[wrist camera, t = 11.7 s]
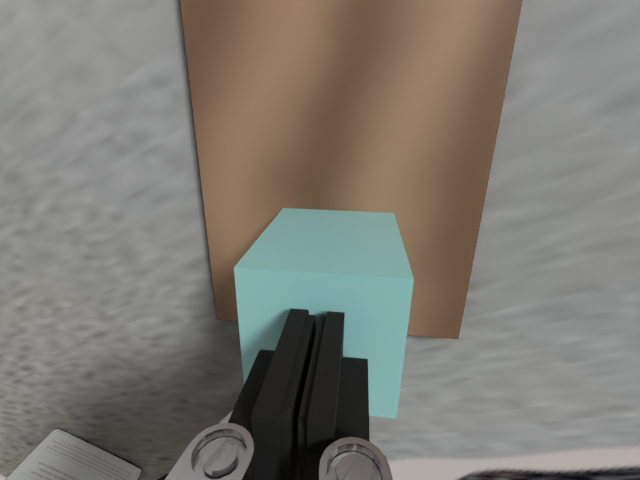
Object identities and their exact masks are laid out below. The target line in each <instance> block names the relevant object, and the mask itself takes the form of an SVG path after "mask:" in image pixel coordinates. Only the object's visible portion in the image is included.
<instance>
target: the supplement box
mask: <svg viewBox="0 0 640 480" xmlns="http://www.w3.org/2000/svg"><path fill="white" fill-rule="evenodd" d="M140 474H141V469H139V468H137V467H136V466H134V465H132V464H130V463H128V462H126V461H124V460H122V459H120V458H118V457H116V456H114V455H112V454H110V453H108V452H106V451H104V450H102V449H100V448H98V447H96V446H94V445H92V444H90V443H87V442H85V441H83V440H81V439H79V438H77V437H75V436H73V435H71V434H69V433H67V432H65V431H62V430H60V429H55V430H53V431H52V432H51V433H50V434H49V435H48V436H47V437H46V438H45V439H44V440H43V441H42V442H41V443H40V444H39V445H38V446H37V447H36V448H35V449H34V450H33V451H32V452H31V453H30V454H29V455H28V456H27V457H26V458H25V460H24V461H23V462H22V463H21V464H20V465H19V466H18V467H17V468H16V469H15V470H14V471H13V472H12V473H11V474H10V475H9V476H8V477H7V478H6V479H5V480H138V478H139V476H140Z"/></svg>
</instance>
